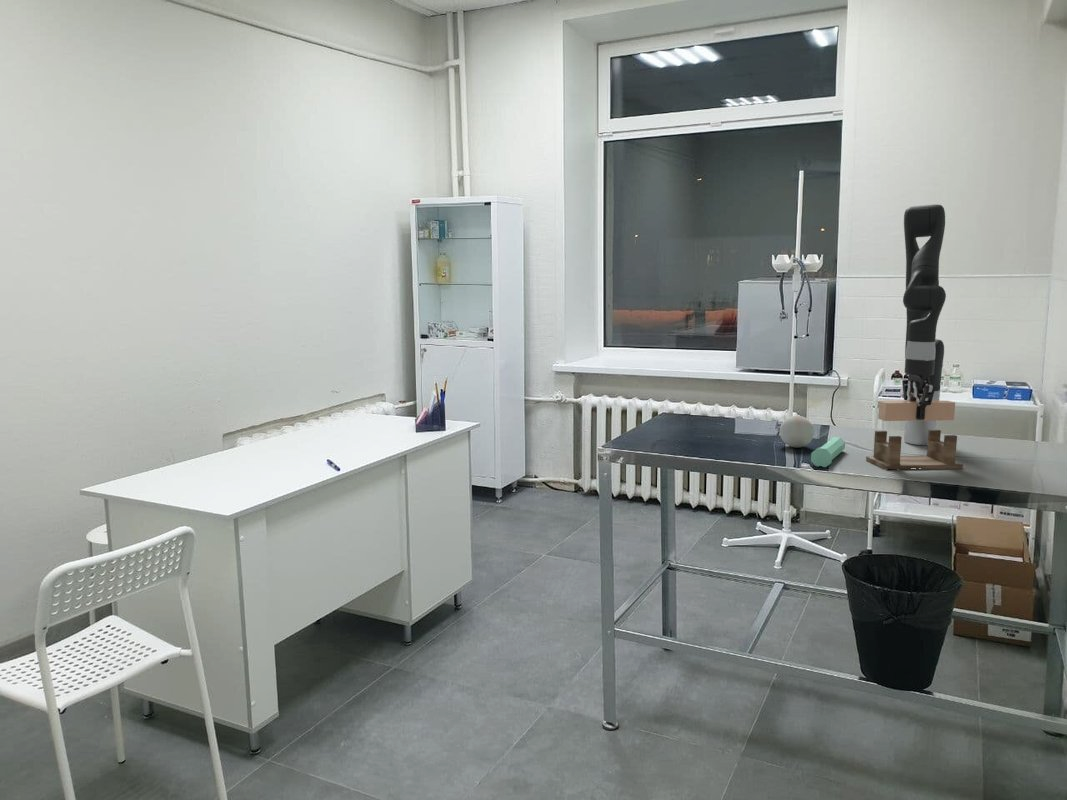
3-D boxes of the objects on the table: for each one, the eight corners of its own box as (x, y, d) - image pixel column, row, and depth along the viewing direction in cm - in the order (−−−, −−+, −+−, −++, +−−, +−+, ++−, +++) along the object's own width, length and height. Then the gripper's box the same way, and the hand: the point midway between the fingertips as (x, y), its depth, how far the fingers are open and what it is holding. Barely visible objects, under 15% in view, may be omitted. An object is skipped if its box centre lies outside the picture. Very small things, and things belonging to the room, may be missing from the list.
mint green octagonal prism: (833, 430, 257) (816, 443, 236) (851, 439, 255) (835, 453, 233) (824, 447, 259) (806, 462, 237) (842, 456, 256) (826, 472, 235)
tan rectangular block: (878, 418, 237) (879, 401, 236) (945, 417, 239) (947, 400, 238) (884, 421, 233) (886, 403, 232) (953, 420, 235) (955, 402, 234)
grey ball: (815, 451, 256) (816, 419, 254) (780, 449, 258) (781, 418, 256) (811, 444, 266) (812, 413, 264) (777, 443, 268) (779, 412, 266)
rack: (866, 460, 243) (867, 430, 242) (938, 459, 244) (941, 428, 243) (886, 470, 231) (888, 438, 230) (962, 468, 233) (965, 436, 231)
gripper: (894, 355, 240) (890, 414, 243) (920, 360, 226) (916, 422, 228) (919, 355, 241) (915, 414, 243) (947, 360, 227) (942, 422, 229)
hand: (916, 417), depth 236 cm, fingers closed on tan rectangular block, 4 cm apart
